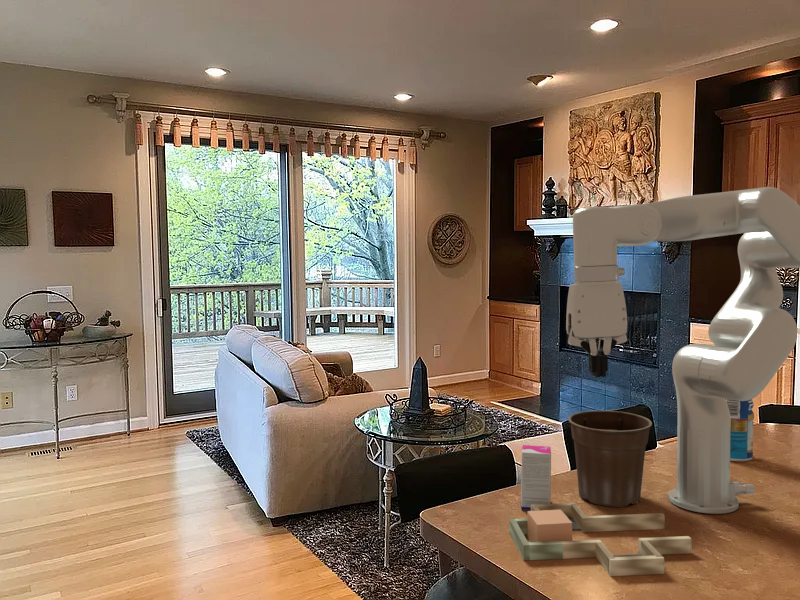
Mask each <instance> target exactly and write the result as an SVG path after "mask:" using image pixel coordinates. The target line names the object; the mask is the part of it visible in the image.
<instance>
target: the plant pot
mask: <svg viewBox="0 0 800 600" xmlns="http://www.w3.org/2000/svg"><path fill="white" fill-rule="evenodd" d="M568 423H569V424H570V430H571V438H572V439H573V445H574V453H575V456H574V457H575V464H576V473H577V474H576V476H577V486H578V487H577V488H578V489H577V490H578V495H579V497H580V498H581V499H583V500H588V501H589V503H590V504H594V505H598V506H602V507H608V508H622V507H623V508H624V507H625V508H626V507H628V505H630V504H632V505H636V504H638V503H639V502H640V500H641V497H642V485H643V475H644V464H645V457H646V454H645V453H646V447H647V444H648V443H649V435H650V429H651V428H652V426H653V422H652V421H651V420H650V419H649V418H647V417H645V416H642V415H640V414H639V415H638V414H635V413H631V412H625V411H617V410H586V411H580V412H579V411H578V412H575V413H572V414H570V416H568Z"/></svg>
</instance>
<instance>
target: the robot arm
mask: <svg viewBox="0 0 800 600" xmlns="http://www.w3.org/2000/svg"><path fill="white" fill-rule="evenodd" d="M572 233H573V235H572V236H573V237H572V238H573V242H572V243H573V266H574V267H573V270H574V271H573V272H574V273H573V274H574V283H569V288H568V293H567V294H568V295H567V300H566V301H567V302H566V315H565V317H566V320H565V321H566V322H565V324H566V325H565V330H566V334H567V335H568V339H567V344H568V345H570V346H575V347H579V348H581V349H583V350H584V352H585V353H586V354H588V372H590V374H591V376H593V377H595V378H601V377H602V378H606V376H607V372H608V371H609V361H608V360H609V358H608V356H609V355H610V353H611V351H612V350H613V349H614V348H615V347H616V346H617V345H620V344H624V343H626V342H627V341H628V338H627V333H628V314H627V304H626V298H625V293H624V289H623V285H622V282H620V281H619V279H620V277H621V276H625V273H626V271H625V268H624V267H619V264H618V247H639V246H645V245H648V244H650V243H652V242H687V241H695V240H701V239H702V240H703V239H709V238H710V239H711V238H715V237H725V236H729V235H730V236H732V235H737V234H738V235H739V234H743V235H741V237H740V238H739V240H738V244H737V256H738V261H739V262H738V263H739V268H740V281H739V283H738V285H737V287H736V288H735V290H734V291H733V293H731V295H730V296H729V298H728V299H727V300H726V301H725V302H724V304H723V305H722V307H721V308H720V309H719V311H718V312H717V313H716V314H715V315H714V317H713V319H712V320H711V322H710V324H709V326H708V331H707V333H708V334H707V335H708V337H709V340H710V341H711V342H712V343H713V344H709V343H691V344H688V345H684V346H683V347H681V348H680V349H679V350H678V351H676V353H675V355H674V357H673V360H672V363H671V365H672V366H671V368H672V369H671V372H672V373H671V374H672V378H673V383H674V387H675V394H676V403H677V423H676V424H677V428H676V429H677V431H676V433H677V439H676V440H677V441H676V443H677V445H676V446H677V447H676V451H677V456H676V457H677V458H676V460H677V461H676V462H677V463H676V464H677V465H676V466H677V467H676V470H677V471H676V474H677V475H676V479H677V480H676V481H677V482H676V487H674V488H672V489H671V490H670V491H669V492H668V499H669V501H670V502H671V503H672V504H673V505H674V506H677V507H679V508H680V509H681V508H682V509H685V510H687V511H691V512H696V513H700V514H701V513H702V514H711V515H714V514H715V515H717V514H719V515H720V514H722V515H723V514H729V513H732V512H735V511H736V510H738V509H739V507H740V506H739V503H740V501H739V499H738V497H739V496H740V495H755V493H756V488H755V485H754V484H753V483H746V484H745V483H743V484H742V483H741V482H740V481H739V480H738V481H732V480H731V461H730V428H731V418H730V412H729V408H728V405H727V402H726V400H725V398H726V399H731V400H736V401H748V400H751V399H752V400H753V399H755V398H756V397H758V396H760V394H761V393H762V392H763V391H764V390H765V389H766V387H767V386H768V385H769V383H770V382H771V381H772V379H773V378H774V376H775V375H776V373H777V372H778V371H779V370H780V368H781V367H782V365H783V364H784V363H785V361H786V360H787V359H788V357H789V356H790V354H791V353H792V352H793V349H794V347H795V345H796V342H797V337H798V327H797V323H796V321H795V319H794V317H793V316H792V314H790V312H788V311H786V310H785V309H782V308H780V306H781V305H782V301H783V299H784V291H783V286H782V283H781V281H780V279H779V275H778V273H777V269H778V268H779V269H781V268H782V269H790V268H791V269H800V204H799V203H798V202H796V200H794V199H793V198H792V197H791V196H790V195H788V194H787V193H786V192H785V191H783V190H782V189H779V188H777V187H774V186H764V187H763V186H762V187H758V188H757V187H755V188H747V189H739V190H729V191H722V192H711V193H704V194H703V193H702V194H694V195H685V196H679V197H678V196H677V197H673V198H667V199H664V200H663V199H662V200H660V201H659V200H658V201H653V202H648V203H635V204H628V205H627V204H626V205H616V206H590V207H588V206H587V207H580V208H578V209H576V210H575V211H574V213H573V215H572ZM597 339H598V345H597V341H596V340H597ZM597 346H598V347H597Z"/></svg>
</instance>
